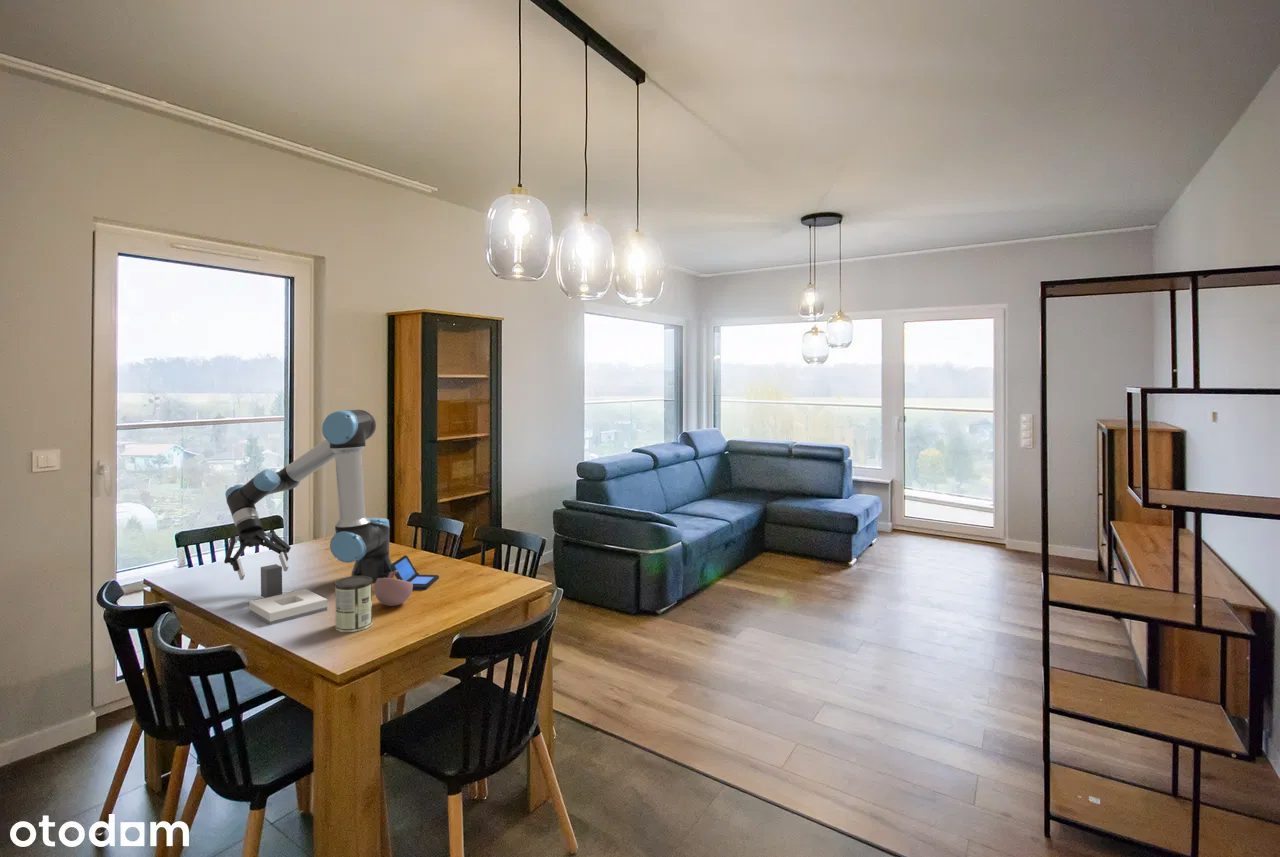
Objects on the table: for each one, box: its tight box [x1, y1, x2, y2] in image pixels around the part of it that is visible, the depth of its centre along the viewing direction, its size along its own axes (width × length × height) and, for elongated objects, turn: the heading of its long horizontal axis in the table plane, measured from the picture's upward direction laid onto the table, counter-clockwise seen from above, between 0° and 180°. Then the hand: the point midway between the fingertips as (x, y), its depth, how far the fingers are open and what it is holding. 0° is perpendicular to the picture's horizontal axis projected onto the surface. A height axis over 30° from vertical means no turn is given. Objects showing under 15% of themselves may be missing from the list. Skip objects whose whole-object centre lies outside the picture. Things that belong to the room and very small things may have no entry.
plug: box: [260, 563, 283, 598], centre depth 206 cm, size 5×5×11 cm
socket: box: [249, 588, 328, 626], centre depth 195 cm, size 17×16×4 cm
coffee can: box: [334, 576, 373, 633], centre depth 183 cm, size 10×10×14 cm
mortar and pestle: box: [373, 570, 413, 607], centre depth 202 cm, size 12×12×11 cm
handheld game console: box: [390, 555, 440, 591], centre depth 226 cm, size 16×13×9 cm
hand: (265, 573), depth 207 cm, fingers open, 13 cm apart
